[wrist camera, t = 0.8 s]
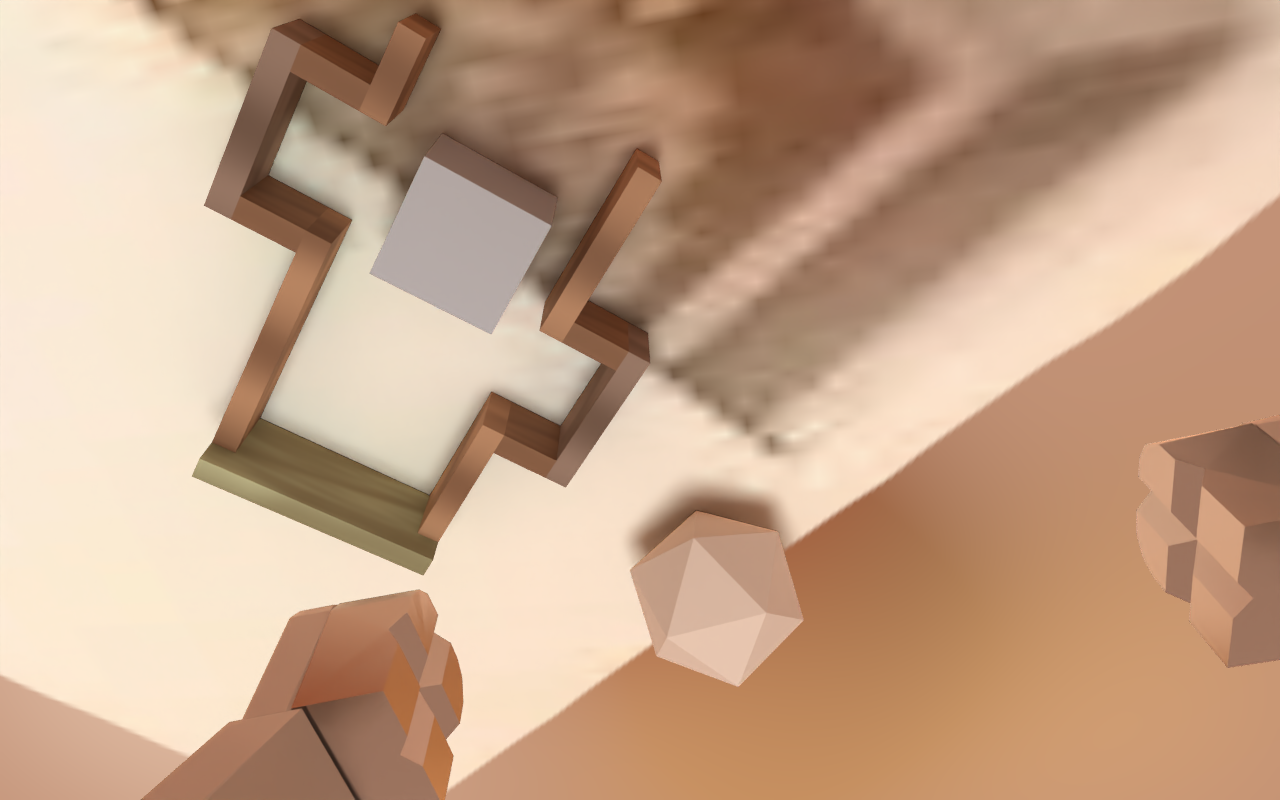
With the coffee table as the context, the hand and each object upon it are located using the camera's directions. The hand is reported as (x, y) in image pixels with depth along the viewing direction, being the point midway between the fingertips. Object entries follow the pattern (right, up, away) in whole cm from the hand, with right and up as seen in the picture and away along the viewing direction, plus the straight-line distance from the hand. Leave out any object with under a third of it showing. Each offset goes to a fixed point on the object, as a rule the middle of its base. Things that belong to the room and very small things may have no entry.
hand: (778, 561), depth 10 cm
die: (+3, -7, +43) cm, 44 cm away
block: (-10, +11, +33) cm, 36 cm away
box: (-12, +7, +35) cm, 38 cm away
